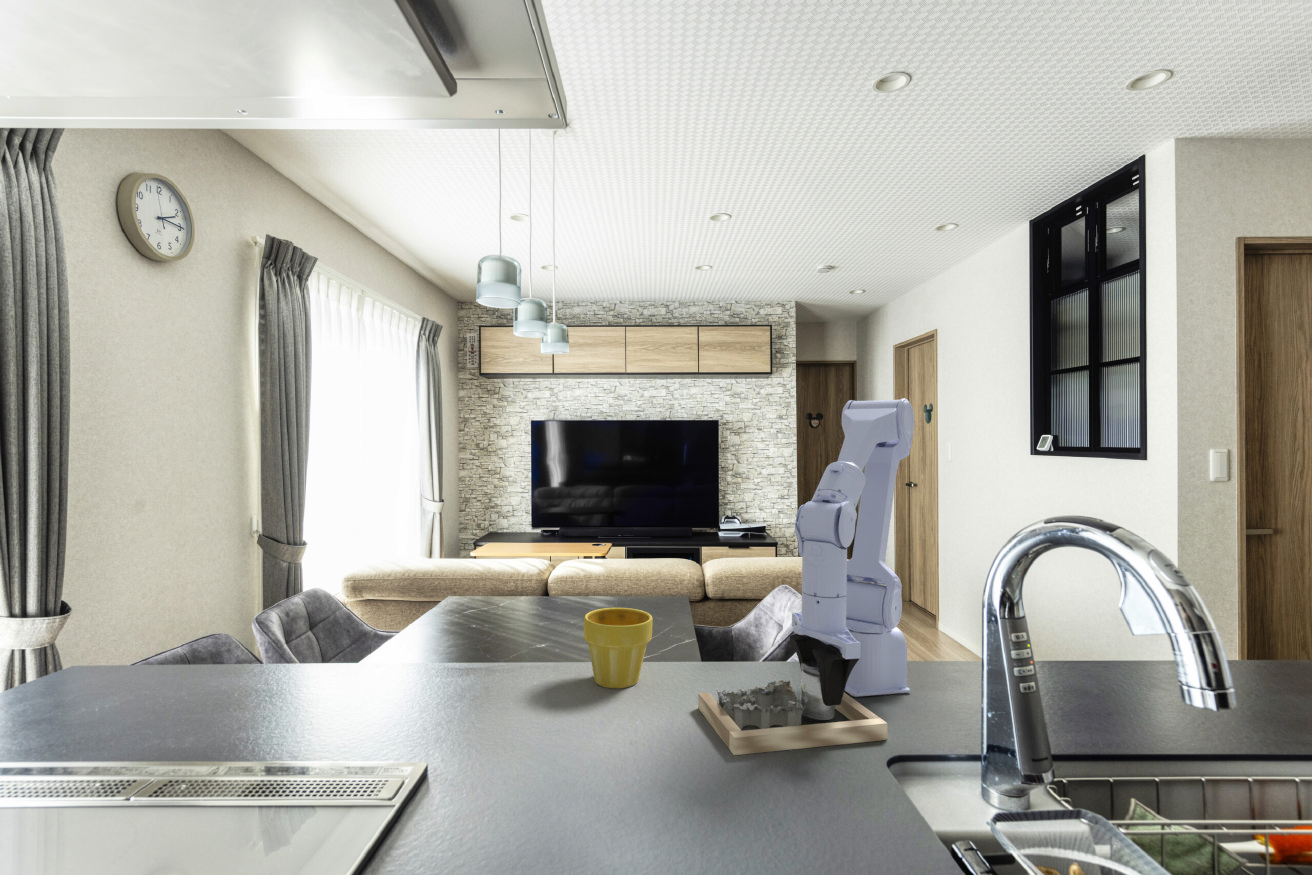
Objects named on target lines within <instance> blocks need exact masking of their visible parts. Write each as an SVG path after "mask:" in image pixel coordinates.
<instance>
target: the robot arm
mask: <svg viewBox="0 0 1312 875" xmlns="http://www.w3.org/2000/svg"><path fill="white" fill-rule="evenodd" d="M914 416H915V414H914V409H913V405H912V404H911V402H910V401H909V399H907V398H900V399H882V400H880V399H879V400H875V399H874V400H854V399H852V400H851V399H850V400H848V401H847V402H846V403H845V405H844V407H843V408H842V412H841V428H842V431H843V435H844V439H843V443H842V445H841V448H840V452H839V455H838V458H837V461H834V462H831V463H829V464H828V465H827V466H826V468H825V470H824V471H823V473H822V477H821V478H820V481H819V484H818V485H817V487H816V490H815V492H814V494H813V496H812V498H811V500H810V501H809V500H808V501H807V502H806V503H805V504H802V505H800V506H799V508H798V510H797V512H796V517H795V522H794V533H795V536H796V540H797V546H798V551H797V552H798V555H799V557H801V558H802V559H801V560H802V561H801V562H802V563H801V564H802V567H801V568H802V569H801V570H802V571H801V612H792V613H791V627H793V628H792V630H793V632H794V633H795V634H790V636H789V640H790V642H791V644H792V646H793V649H794V651H795V654H796V655H797V659H798V662H799V667H800V671H801V673H802V669H801V663H802V662H803V661H807V660H816V661H817V665H818V668H819V672H820V678H821V691H822V698H823V703H824V704H825V705H826V706H833V705H840V704H841V701H842V697H843V694H844V693H848V694H849V696H852V697H855V698H857V697H869V696H882V695H892V694H905V693H911V689H910V688H909V687H908V685H907V684H908V645H907V641H906V638H905V635H904V634H903V631H901V629H900V628H899V627H898V625H899V623H900V621H901V617H902V613H903V612H902V611H903V598H902V591H903V590H902V588H903V585H902V581H901V579H900V577H899V576H898V575H897V574H896V573H895V572H894V571H893V570H892V569H891V568H890V567H889V566H888V565H886V557H887V548H888V541H889V533H890V526H891V525H890V524H891V521H892V520H891V518H892V513H893V504H894V497H895V496H894V495H895V489H896V488H895V486H896V480H897V473H898V468H899V464H900V461H902V460H903V459H905V458H907V457H909V456H910V455H911V454H910V453H911V449H912V446H913V438H914V430H915V417H914ZM863 470H864V472H863ZM858 503H859V509H858V513H857V509H856V508H857V506H858ZM853 540H854V542H853ZM852 543H853V549H852V556H851V558H850V559H848V548H849V547H850V546H851V545H852Z"/></svg>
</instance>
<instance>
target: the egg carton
mask: <svg viewBox="0 0 1312 875" xmlns="http://www.w3.org/2000/svg"><path fill="white" fill-rule="evenodd" d="M716 696H718V704H719V705H720V706H721V707H722V708H723V710H724V711H725V712H726V713H727V714H728V715H729V717H730V718H731V719H732V720H733V721H734V722H735V724H736V725H737V726H738V727H739V728H740V730H743V728H744V727H745V726H755V727H757V728H759V729H767V728H771V726H780V727H789V726H800V725H802V717H803V716H802V715H803V714H802V713H801V710H804V708H803V706H802V704H800V699H797V696H796V691H795V689H794V688H793V686H792V684H791V680H785V681H784V680H779V681H777V680H774V681H772V682H768V683H767V685H766V686H760V685H757V686H755V687H754V688H748V689H747V688H738V689H734V690H731V691H728V690H727V691H726V689H725V690H724V689H723V690H720V689H719V690H718V689H716Z"/></svg>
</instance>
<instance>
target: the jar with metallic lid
mask: <svg viewBox="0 0 1312 875" xmlns="http://www.w3.org/2000/svg"><path fill="white" fill-rule="evenodd" d="M801 669H802V672H801V677H800V679H801V681H800V697H799V698H800V699H799V701H800V704H802V706H803V708H804V710H801V714H802V715H803V716H805V717H806V718H809V719H813V720H818V721H827V720H828V721H829V720H832V719H834V717H835V713H836V712H835V710H836V709H835V705H833V706H826V705H825V704H824V703H823V698H822V691H821V678H820V672H819V668H818V665H817V661H816V660H807V661H803V662H802V663H801V667H800V670H801Z"/></svg>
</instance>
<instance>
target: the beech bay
mask: <svg viewBox="0 0 1312 875" xmlns="http://www.w3.org/2000/svg"><path fill="white" fill-rule="evenodd" d="M697 695H698V696H697V697H698V698H697V700H698V702H697V708H698V710H699V712H701V714H702V715H703V717H704V718H705V720H706V721H707V722H708V723H709V725H710V726H711V727H712V728H713V729H714V731H715V732H716V734H717V735H718V736H719V738H720V739H721V741H722V742H723V744H725V746H726V747H727V748H728V749H729V751H730V752H731V753H732V755H733V756H740V755H741V756H742V755H749V754H760V753H770V752H778V751H779V752H780V751H787V750H799V749H808V748H820V747H827V746H829V747H830V746H838V745H839V746H840V745H849V744H858V743H866V742H867V743H868V742H869V743H870V742H876V741H877V742H878V741H887V740H888V727H889V726H888V724H889V723H888V722H886V721H885V720H884V719H882V718H881V717H879V716H878V715H877V714H875V713H874V712H873V711H871V710H869V708H866V706H864V705H862V703H860V702H859V701H857V700H856V699H854V698H853V697H851V695H850V694H849V695H848V694H847V692H844V694H843V697H842V701H841V704H840V705H835V710H836V711H838V712H839V713H840V714H841V715H843V717H845V718H847V719H848V720H845V721H835V722H825V723H823V722H822V723H813V724H803V725H802V724H801V725H797V726H789V727H784V726H779V727H769V728H767V729H760V728H759V729H746V730H745V729H744V730H742V729H740V728H739V727H738V726H737V725H736V724H735V722H734V721H733V720H732V719H731V718H730V717H729V715H728V714H727V713H726V712H725V711H724V710H723V708H722V707H721V706H720V705H719V701H718V700H716V699H715V698H714V696H713V695H712V694H711V693H710V692H698V693H697Z"/></svg>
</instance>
